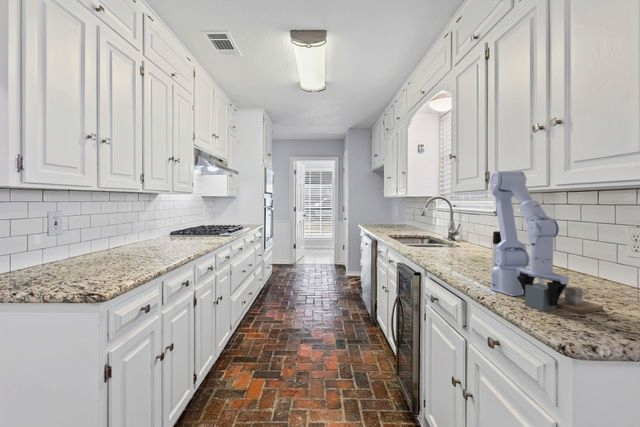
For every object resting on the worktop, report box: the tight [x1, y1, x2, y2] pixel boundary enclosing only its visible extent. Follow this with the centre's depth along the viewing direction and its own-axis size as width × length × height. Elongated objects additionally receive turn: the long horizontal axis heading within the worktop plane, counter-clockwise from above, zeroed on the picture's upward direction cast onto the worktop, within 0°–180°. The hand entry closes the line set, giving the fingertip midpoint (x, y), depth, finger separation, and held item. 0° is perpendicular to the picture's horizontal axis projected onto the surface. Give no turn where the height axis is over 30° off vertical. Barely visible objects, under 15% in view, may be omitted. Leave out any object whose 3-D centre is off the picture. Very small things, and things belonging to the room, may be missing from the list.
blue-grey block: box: [524, 282, 556, 312], centre depth 98 cm, size 6×6×7 cm
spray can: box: [491, 230, 512, 271], centre depth 134 cm, size 7×7×20 cm
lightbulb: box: [536, 277, 546, 285], centre depth 125 cm, size 6×6×11 cm
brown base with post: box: [555, 285, 604, 315], centre depth 98 cm, size 10×11×6 cm
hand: (540, 301), depth 98 cm, fingers open, 7 cm apart
